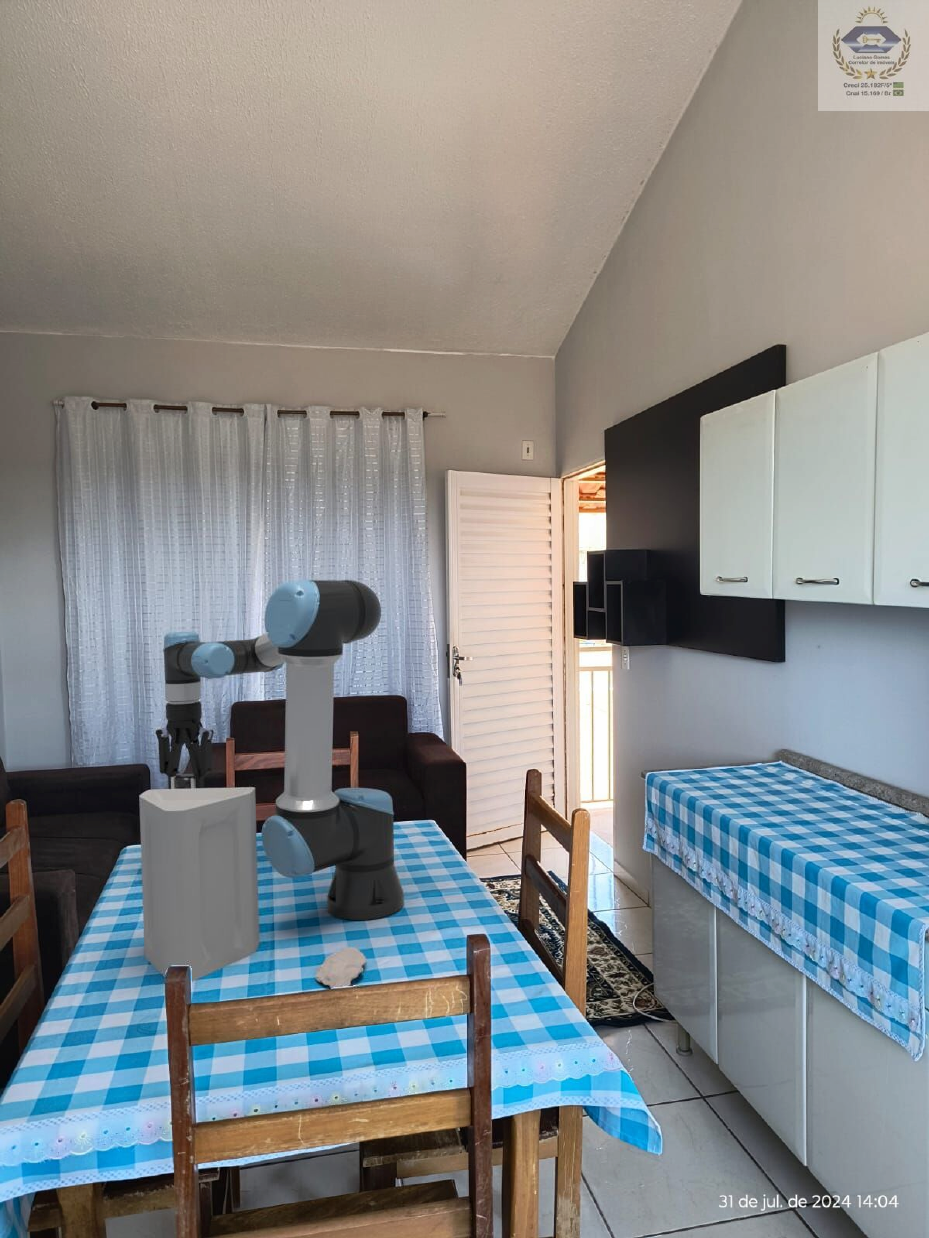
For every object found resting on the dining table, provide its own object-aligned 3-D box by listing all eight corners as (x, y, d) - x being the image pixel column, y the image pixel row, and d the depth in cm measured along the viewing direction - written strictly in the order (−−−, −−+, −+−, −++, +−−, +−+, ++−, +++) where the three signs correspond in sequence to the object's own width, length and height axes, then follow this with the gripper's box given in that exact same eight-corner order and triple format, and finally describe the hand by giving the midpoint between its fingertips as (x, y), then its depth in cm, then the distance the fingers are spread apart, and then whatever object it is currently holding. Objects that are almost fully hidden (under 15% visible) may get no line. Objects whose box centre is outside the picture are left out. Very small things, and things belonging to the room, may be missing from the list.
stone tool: (366, 996, 126) (365, 959, 141) (367, 976, 126) (365, 941, 141) (313, 997, 125) (317, 961, 140) (314, 977, 125) (318, 942, 140)
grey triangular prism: (120, 984, 131) (114, 812, 130) (153, 944, 146) (148, 789, 145) (239, 981, 131) (234, 809, 130) (260, 941, 146) (256, 786, 145)
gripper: (227, 699, 182) (230, 803, 183) (160, 698, 187) (163, 799, 188) (208, 704, 175) (211, 812, 176) (138, 702, 180) (142, 807, 181)
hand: (186, 805), depth 182 cm, fingers closed on plunger, 4 cm apart
